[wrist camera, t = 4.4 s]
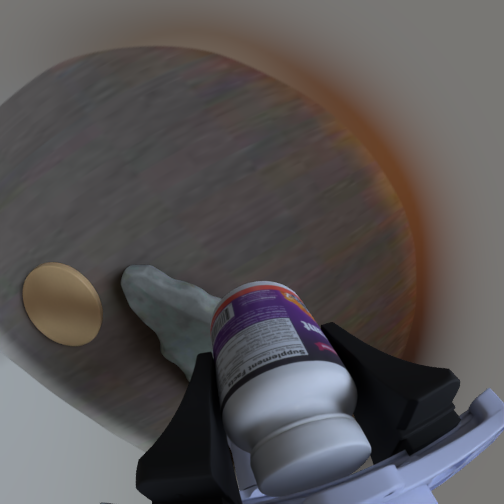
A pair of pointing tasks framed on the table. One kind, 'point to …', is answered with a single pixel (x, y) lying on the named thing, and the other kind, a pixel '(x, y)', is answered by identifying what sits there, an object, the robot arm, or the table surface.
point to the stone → (171, 313)
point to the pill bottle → (284, 391)
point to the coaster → (62, 304)
